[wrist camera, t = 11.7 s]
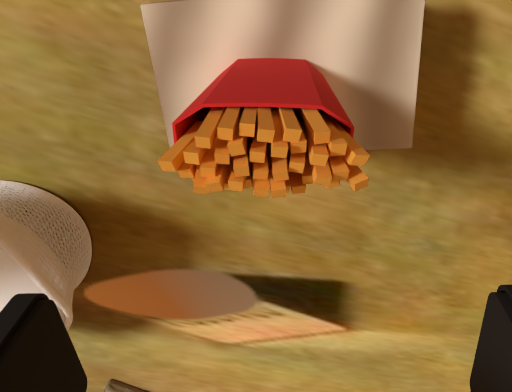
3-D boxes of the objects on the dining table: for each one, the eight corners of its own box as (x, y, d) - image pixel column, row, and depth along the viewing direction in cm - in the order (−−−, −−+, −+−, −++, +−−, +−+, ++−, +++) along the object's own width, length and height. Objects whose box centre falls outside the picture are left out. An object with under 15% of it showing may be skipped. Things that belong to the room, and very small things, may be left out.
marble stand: (403, -30, 29) (426, -23, 24) (394, 116, 34) (411, 148, 29) (166, -6, 31) (140, 4, 26) (190, 129, 36) (172, 160, 30)
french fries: (209, 117, 29) (160, 216, 18) (205, 55, 27) (147, 126, 16) (341, 120, 28) (368, 224, 18) (347, 56, 26) (381, 131, 16)
